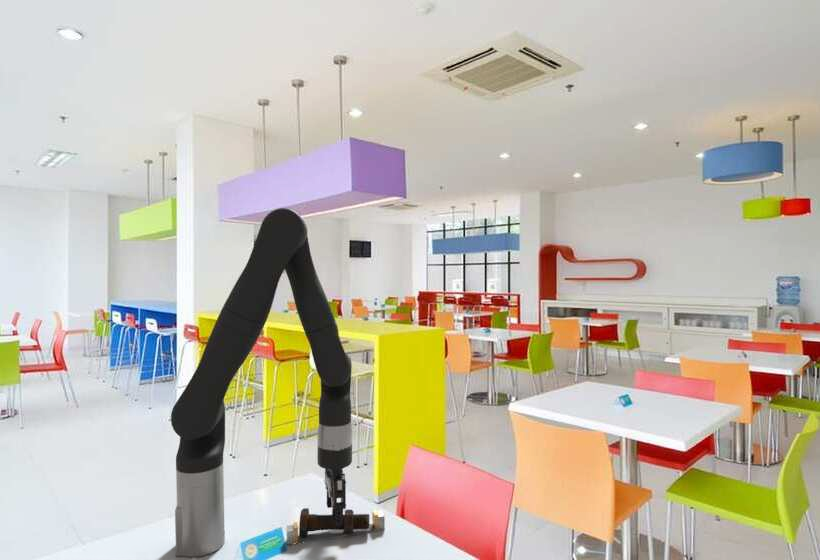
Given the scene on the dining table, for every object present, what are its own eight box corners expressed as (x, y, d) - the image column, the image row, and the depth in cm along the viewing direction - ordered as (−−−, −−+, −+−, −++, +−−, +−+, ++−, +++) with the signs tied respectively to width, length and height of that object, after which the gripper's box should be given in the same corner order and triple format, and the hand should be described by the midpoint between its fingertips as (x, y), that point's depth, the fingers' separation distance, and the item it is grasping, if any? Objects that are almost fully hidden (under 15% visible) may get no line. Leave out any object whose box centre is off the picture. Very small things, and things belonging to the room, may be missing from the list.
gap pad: (298, 544, 107) (298, 542, 107) (297, 537, 110) (297, 536, 110) (374, 531, 112) (374, 529, 112) (371, 525, 114) (371, 523, 114)
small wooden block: (375, 530, 112) (374, 515, 112) (372, 525, 114) (372, 510, 114) (384, 529, 113) (384, 513, 113) (381, 523, 115) (381, 508, 115)
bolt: (368, 540, 111) (299, 541, 109) (369, 519, 115) (302, 520, 114) (369, 524, 108) (298, 525, 106) (369, 503, 112) (301, 504, 111)
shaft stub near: (287, 545, 106) (287, 529, 106) (286, 539, 109) (286, 523, 109) (298, 543, 107) (297, 527, 107) (297, 537, 109) (296, 521, 109)
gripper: (314, 433, 116) (313, 503, 116) (321, 455, 102) (321, 534, 103) (346, 430, 118) (345, 499, 118) (358, 451, 104) (357, 529, 105)
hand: (334, 515), depth 110 cm, fingers open, 8 cm apart
